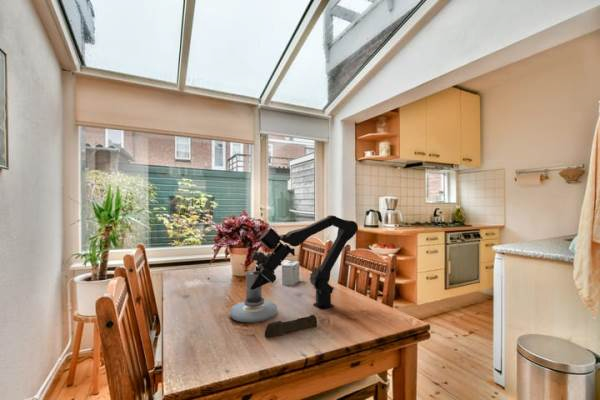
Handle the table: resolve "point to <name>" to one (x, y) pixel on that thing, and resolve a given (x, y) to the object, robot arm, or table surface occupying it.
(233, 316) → the turntable
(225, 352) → the table surface
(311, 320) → the hand tool
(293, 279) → the light bulb box
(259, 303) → the dark grey cylinder
